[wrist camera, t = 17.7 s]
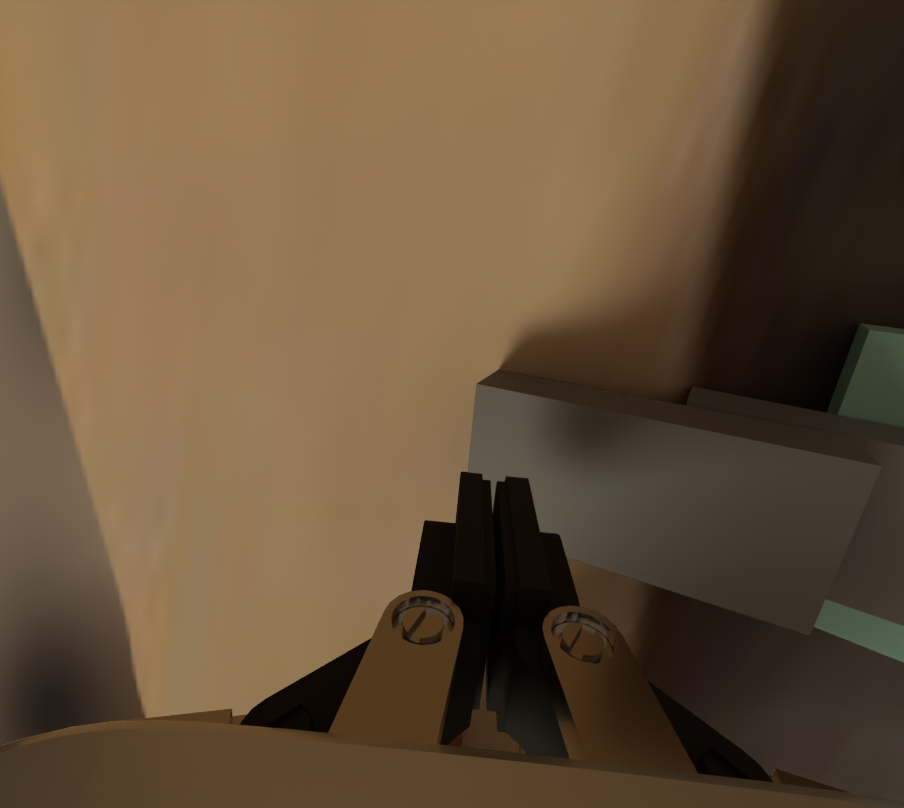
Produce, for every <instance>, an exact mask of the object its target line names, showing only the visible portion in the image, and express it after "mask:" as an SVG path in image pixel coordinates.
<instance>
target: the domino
mask: <svg viewBox="0 0 904 808" xmlns="http://www.w3.org/2000/svg"><path fill="white" fill-rule="evenodd" d="M881 468H882V466H881V465H880V464H879V463H878V462H877V461H876V460H875V459H874V458H873V457H872V456H871V455H870V454H869V453H868V452H867V451H866V450H865V449H864V448H863V447H862V446H861V445H860V444H859V443H858V442H857V441H856V440H855V438H854V437H850V436H845V435H839V434H834V433H829V432H823V431H818V430H813V429H808V428H802V427H797V426H792V425H786V424H781V423H776V422H770V421H765V420H760V419H754V418H749V417H744V416H739V415H733V414H728V413H723V412H717V411H712V410H707V409H701V408H696V407H691V406H685V405H680V404H675V403H670V402H664V401H659V400H654V399H648V398H643V397H638V396H632V395H627V394H622V393H617V392H611V391H606V390H601V389H595V388H590V387H585V386H579V385H574V384H569V383H563V382H558V381H553V380H548V379H542V378H537V377H532V376H526V375H521V374H516V373H510V372H505V371H500V370H497V371H496V372H494V373H493V374H491V375H490V376H488V377H487V378H485V379H483V380H482V381H480V382H479V383H477V386H476V396H475V406H474V416H473V425H472V435H471V445H470V455H469V465H468V472H470V473H480V474H482V475H483V480H490V481H491V496H492V512H493V505H494V497H495V489H496V483H497V481H503V482H505V477H506V476H510V477H520V478H528V479H529V483H530V488H531V493H532V497H533V502H534V506H535V511H536V516H537V520H538V525H539V529H540V532H546V533H555V534H559V535H560V538H561V540H562V544H563V547H564V551H565V555H566V557H567V558H570V559H573V560H577V561H580V562H583V563H586V564H589V565H592V566H595V567H598V568H601V569H604V570H608V571H611V572H614V573H617V574H620V575H623V576H626V577H629V578H632V579H635V580H638V581H642V582H645V583H648V584H651V585H654V586H657V587H660V588H663V589H666V590H669V591H672V592H676V593H679V594H682V595H685V596H688V597H691V598H694V599H697V600H700V601H703V602H706V603H710V604H713V605H716V606H719V607H722V608H725V609H728V610H731V611H734V612H737V613H740V614H744V615H747V616H750V617H753V618H756V619H759V620H762V621H765V622H768V623H771V624H774V625H778V626H781V627H784V628H787V629H790V630H793V631H796V632H799V633H802V634H805V635H808V636H810V635H811V632H812V630H813V627H814V625H815V623H816V620H817V618H818V616H819V613H820V611H821V609H822V606H823V604H824V602H825V599H826V597H827V595H828V592H829V590H830V588H831V585H832V583H833V580H834V578H835V576H836V573H837V571H838V569H839V566H840V564H841V562H842V559H843V557H844V555H845V552H846V550H847V548H848V545H849V543H850V541H851V538H852V536H853V534H854V531H855V529H856V526H857V524H858V522H859V519H860V517H861V515H862V512H863V510H864V508H865V505H866V503H867V501H868V498H869V496H870V494H871V491H872V489H873V487H874V484H875V482H876V479H877V477H878V475H879V472H880V470H881Z"/></svg>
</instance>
